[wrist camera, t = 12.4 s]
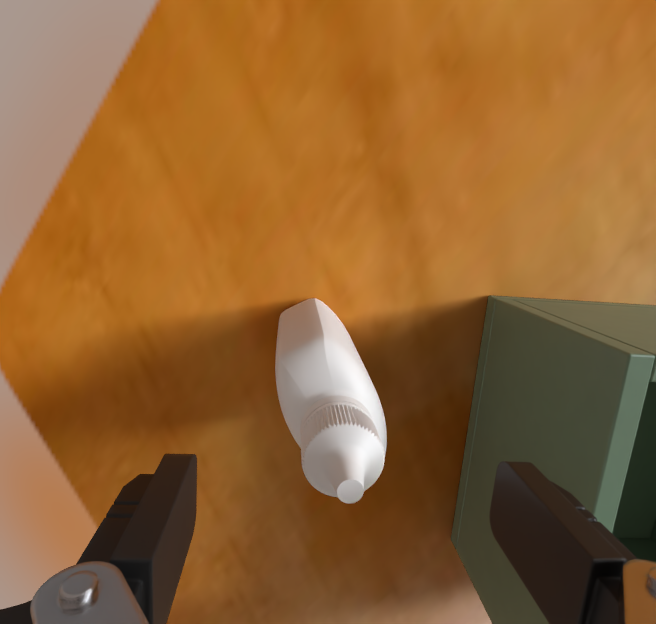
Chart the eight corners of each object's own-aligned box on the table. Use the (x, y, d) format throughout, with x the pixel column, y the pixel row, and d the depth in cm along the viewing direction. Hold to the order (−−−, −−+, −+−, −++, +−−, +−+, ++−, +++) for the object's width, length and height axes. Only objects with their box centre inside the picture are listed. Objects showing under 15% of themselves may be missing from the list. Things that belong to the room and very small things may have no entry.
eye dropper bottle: (275, 398, 23) (259, 584, 12) (280, 294, 22) (269, 385, 10) (356, 401, 24) (420, 583, 12) (366, 299, 23) (447, 392, 11)
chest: (487, 295, 23) (629, 353, 13) (710, 308, 24) (985, 371, 15) (450, 539, 26) (543, 728, 17) (648, 539, 27) (842, 716, 18)
